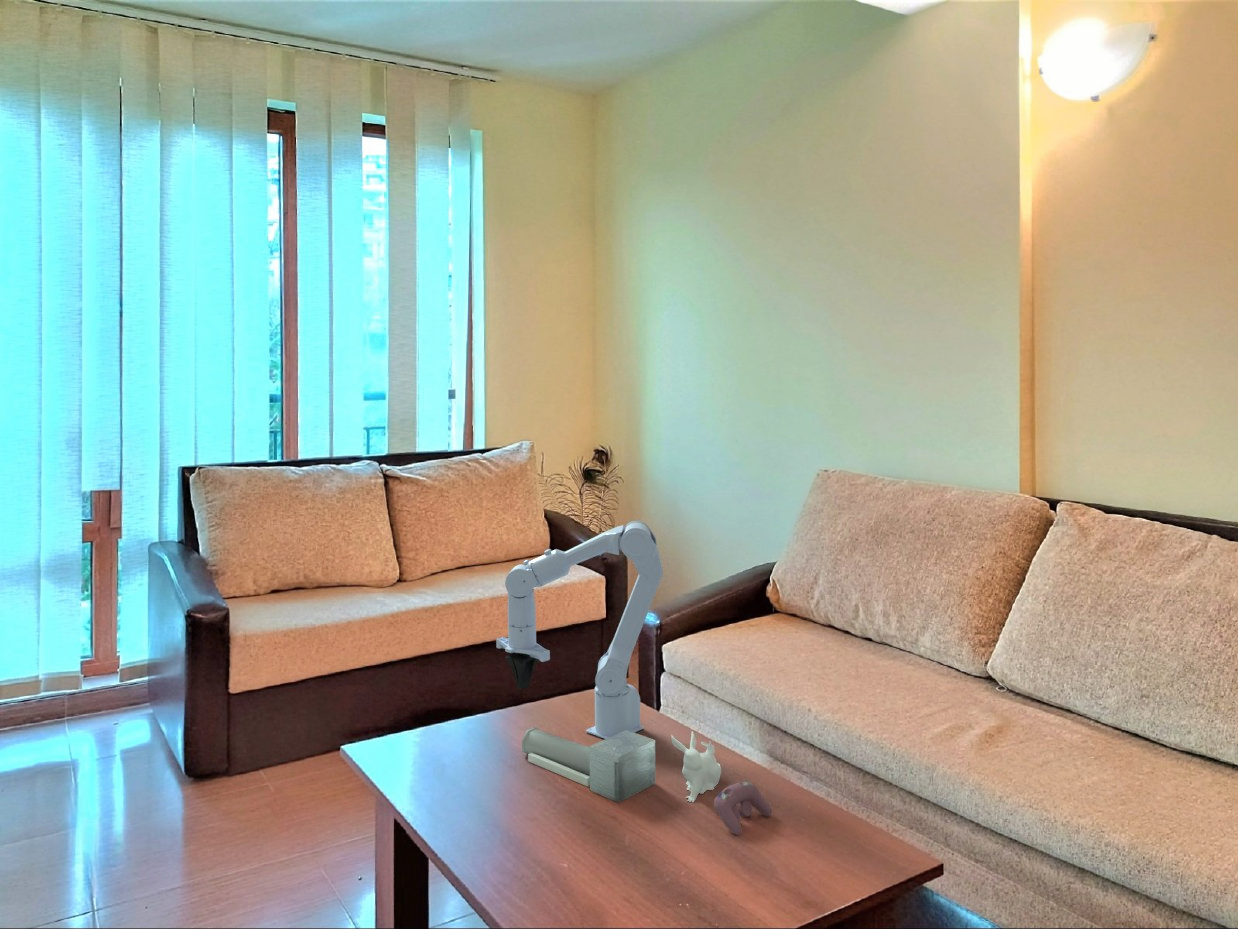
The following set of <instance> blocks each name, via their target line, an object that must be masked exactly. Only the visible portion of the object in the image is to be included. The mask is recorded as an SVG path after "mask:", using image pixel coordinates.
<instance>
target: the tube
mask: <svg viewBox="0 0 1238 929" xmlns="http://www.w3.org/2000/svg"><path fill="white" fill-rule="evenodd" d="M522 737H523V738H522V740H521V752H523V753H524V754H526V755H528V754H530V753H534V754H536V755H539V756H541V757H544V758H546V759H549V760H551V761H553V762H556V763H558V764H561V765H563V766H565V767H568V768H570V769H573V770H575V771H577V772H580V773H582V774H585V775H587V776H590V758H589V746H587V745H584V744H582V743H581V744H580V743H578V742H575V741H572V740H570V739H566V738H563V737H561V736H558V735H554V734H551V733H549V732H545V731H542V730H540V729H539V728H537V727H535V726H534V727H531V728H529V729H526V731H525V732H524V735H523V736H522Z"/></svg>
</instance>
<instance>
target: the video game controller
mask: <svg viewBox="0 0 1238 929" xmlns="http://www.w3.org/2000/svg"><path fill="white" fill-rule="evenodd" d="M735 806H737V808H736V807H735ZM752 807H753V808H754V809H755V810H757V811H758V812H759V813H760V814H761V815H762V816H764V815H765V817H767V816H770V817H771V816H772V814H773V811H772V810H773V809H772V806H771V805H770V803H769V802H768V801H767V799H766V798H765V797H764V796H763V795H762V794H761V792H760V791H759V789H758V788H757V787H756V786H755V785H754V784H752V782H750V781H742V782H741V781H740V782H735V783H732V784H729V785H728V786H726V787H725V788H724V789H723V790H721V792H720V793H719V794H718V795H717V796H716V797H715V798H714V800H713V808H714V811H715V814H716V815H717V816H718V817H719V818H720V819H721V821H722V823H723V824H724V826H725V827H726V828H727V829H728V830H729V831H730V832H731V833H732V834H733V833H734V835H735V834H736V836H740V835H741V834H743V830H742V825H741V822H740V821H741V818H748V817H750V816H751V815H752V812H753V811H752V810H753V809H752Z"/></svg>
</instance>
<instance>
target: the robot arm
mask: <svg viewBox="0 0 1238 929" xmlns="http://www.w3.org/2000/svg"><path fill="white" fill-rule="evenodd" d="M620 551H621V552H622V553H623V554H624V556H625V557H627V559H629V560H630V561H631V563H633V565H634V567H635V569H636V571H637V573H638V575H637V578H636V581H635V583H634V586H633V588H632V591H631V594H630V596H629V599H628V601H627V603H626V606H625V608H624V610H623V613H622V616H621V617H620V618H621V619H620V622H619V623H618V627H617V629H616V632H615V634H614V637H613V639H612V641H611V643H610V645H609V647H608V649H607V652H606V653H604V654H603V655H602V656H601V657H600V659H599V660H598V662H597V663H598V664H597V673H596V674H595V679H594V682H595V687H594V726H592V727H589V728H587V729H586V730H585V731H586V733H588V734H591V735H594V736H595V737H598V738H602V739H603V740H605V739H607V738H609V737H612V736H614V735H616V734H618V733H621V732H623V731H625V730H628V731H631V732H634V733H637V732H639V731H641V730H643V729H644V725H641V696H640V694H639V691H638V690H637V688H636V687H635V686H633V685H632V684H629V683H627V672H628V668H629V664H630V661H631V658H632V655H633V651H634V648H635V647H636V643H637V641H638V638H639V637H640V634H641V631H642V628H643V626H644V623H645V622H646V618H647V616H648V613H649V611H650V609H651V606H652V603H653V601H654V598H655V595H656V593H657V590H658V589H659V586H660V583H661V580H662V577H663V575H664V570H663V568H664V567H663V564H662V559H661V555H660V551H659V547H658V542H657V538H656V535H654V532H653V531H652V530H651V528H650V527H649V525H648V524H646V523H645V522H643V521H641V520H633V521H630V522H628V523H627V524H626V525H625V526H624V524H621V525H618V526H616V527H613V528H611V529H608V530H606V531H604V532H602V533H600V534H598V535H596V536H594V537H592V538H590V539H588V540H586V541H584V542H582V543H580V544H578V545H576V546H573V547H572V548H570V549H568V550H566V551H563V550H560V549H557V548H556V549H554V550H552V549H551V548H548V549H546V550H544V552H543V554H542V555H540V556H538V557H536V558H533V559H532V560H529V559H526V560H524V561H523V563H522V564H521V563H520V564H518V565H515V566H514V567H513V568H512V569H511V570H510V571H509V573H508V574H507V576H506V578H505V580H504V582H505V583H504V585H505V589H506V591H507V629H508V630H507V634H508V635H507V637H505V636H502V637H499V638H496V639H495V640H496V641H495V643H496V644H495V645H496V649H500V650H501V649H505V650H504V651H505V652H506V653H510V654H507V655H505V660H506V662H507V663H508V665H509V667H510V669H511V671H512V674H513V676H514V680H515V683H516V684H515V685H516V687H517V689H518V690H522V691H523V690H526V689H528V688H529V687H530V684H531V680H532V675H533V672H534V670H535V667H536V665H537V663H538V662H542V663H544V662H548V661H550V660H551V655H550V654H551V652H550V651H551V650H549V649H546V648H544V647H543V646H542V645H540V644H538V643H537V620H536V618H537V616H536V612H537V611H536V600H535V589H534V588H541V587H544V586H545V585H548V584H549V583H553V582H554V581H556V580H559V579H561V578H563V577H565V576H567V575H568V574H569V572H570V570H571V567H572V566H575V565H578V564H580V563H583V562H584V561H587V560H589V559H592V558H594V557H596V556H599V555H602V554H605V553H608V554H613V555H617V556H620Z"/></svg>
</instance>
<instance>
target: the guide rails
mask: <svg viewBox="0 0 1238 929" xmlns="http://www.w3.org/2000/svg"><path fill="white" fill-rule="evenodd" d="M527 762H529V763H532V764H534V765H536V766H539V767H541V768H543V769H546V770H548V771H551V772H553V773H556V775H559V776H562V777H564V778H567V779H569V780H571V781H573V782H576V783H579V784H581V785H583V786H585V787H590V775H587V774H584V773H582V772H579V771H576V770H573V769H571V768H568V767H565V766H563V765H561V764H558V763H556V762H553V761H551V760H549V759H546V758H544V757H541V756H539V755H536V754H534V753H530V754H527Z"/></svg>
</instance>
